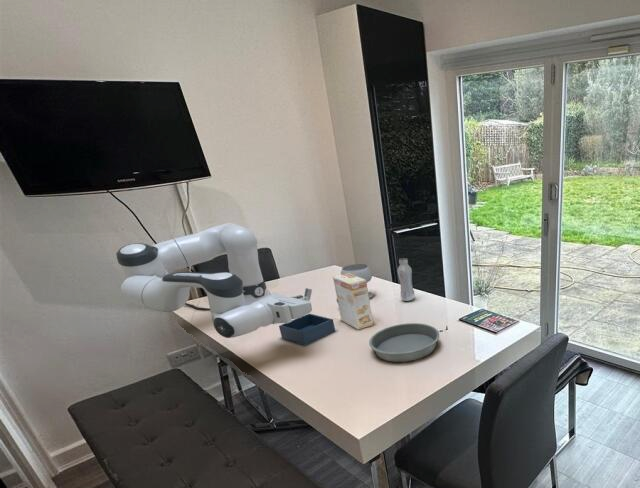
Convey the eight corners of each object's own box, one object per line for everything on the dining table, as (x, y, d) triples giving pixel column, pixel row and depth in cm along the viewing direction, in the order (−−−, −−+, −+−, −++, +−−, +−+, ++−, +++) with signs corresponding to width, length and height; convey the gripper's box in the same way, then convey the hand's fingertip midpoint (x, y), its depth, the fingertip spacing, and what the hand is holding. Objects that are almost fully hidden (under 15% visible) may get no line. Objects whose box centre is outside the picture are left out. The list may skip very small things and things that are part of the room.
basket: (282, 338, 157) (278, 325, 155) (312, 325, 168) (309, 313, 166) (305, 345, 151) (302, 332, 149) (335, 331, 162) (332, 319, 160)
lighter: (299, 314, 148) (294, 293, 144) (296, 313, 148) (291, 292, 145) (315, 308, 153) (311, 287, 150) (312, 307, 154) (308, 287, 151)
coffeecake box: (374, 324, 168) (366, 279, 160) (357, 330, 163) (349, 283, 155) (356, 315, 177) (348, 272, 169) (340, 320, 172) (331, 276, 165)
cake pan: (383, 333, 160) (382, 322, 158) (445, 333, 159) (444, 322, 158) (360, 364, 138) (358, 352, 136) (432, 365, 137) (431, 353, 135)
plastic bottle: (418, 299, 195) (413, 258, 187) (407, 303, 189) (402, 261, 181) (408, 296, 198) (403, 256, 190) (398, 301, 193) (392, 259, 185)
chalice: (347, 304, 189) (341, 273, 183) (342, 295, 201) (337, 266, 195) (378, 298, 196) (373, 268, 190) (371, 290, 207) (367, 261, 201)
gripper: (252, 314, 144) (287, 301, 155) (291, 324, 135) (325, 310, 146) (247, 297, 141) (284, 285, 152) (287, 306, 133) (322, 293, 144)
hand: (304, 297), depth 149 cm, fingers closed on lighter, 2 cm apart
